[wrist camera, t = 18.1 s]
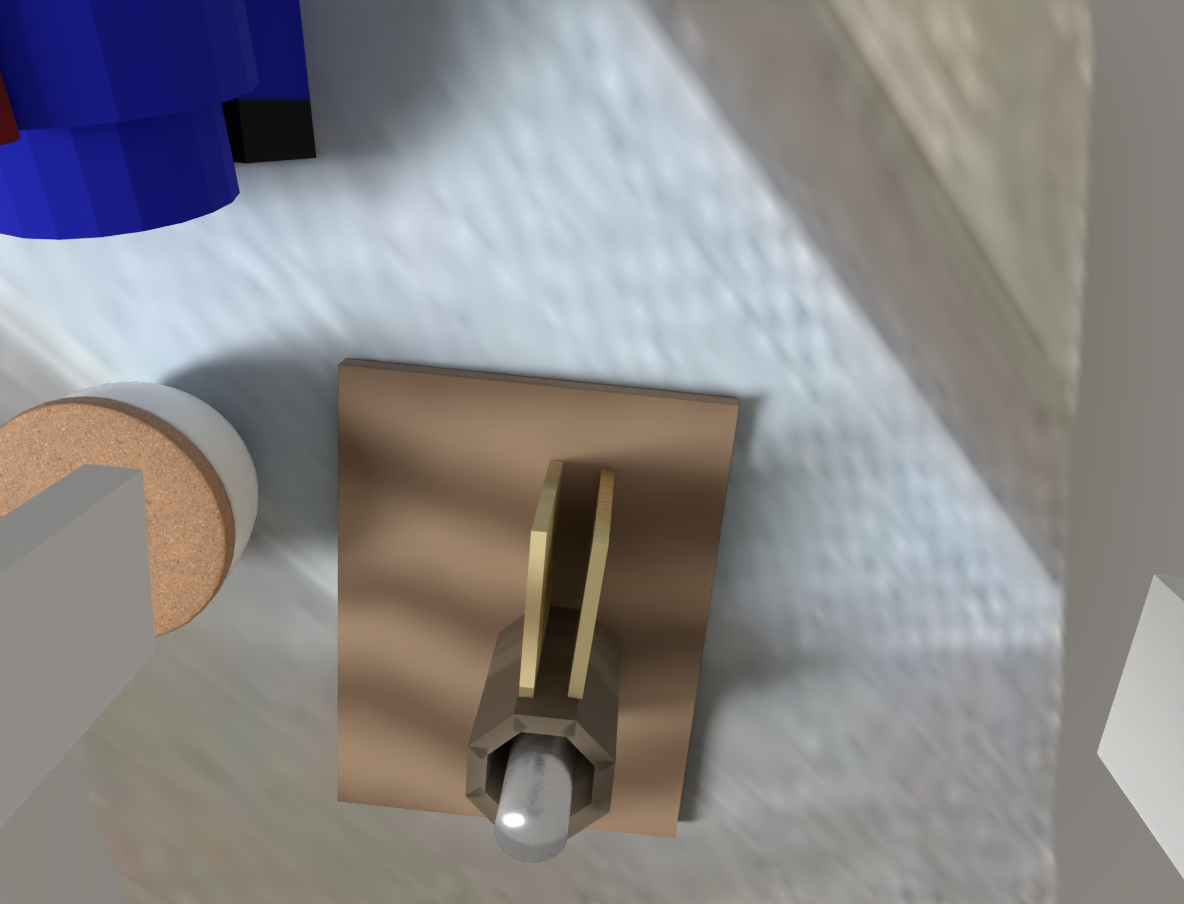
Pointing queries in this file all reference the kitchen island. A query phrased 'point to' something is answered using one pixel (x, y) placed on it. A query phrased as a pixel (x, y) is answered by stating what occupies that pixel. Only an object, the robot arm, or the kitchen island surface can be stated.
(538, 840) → the pin
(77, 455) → the lidded jar
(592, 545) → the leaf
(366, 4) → the kitchen island surface
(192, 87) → the alarm clock
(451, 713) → the jig
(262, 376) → the kitchen island surface
